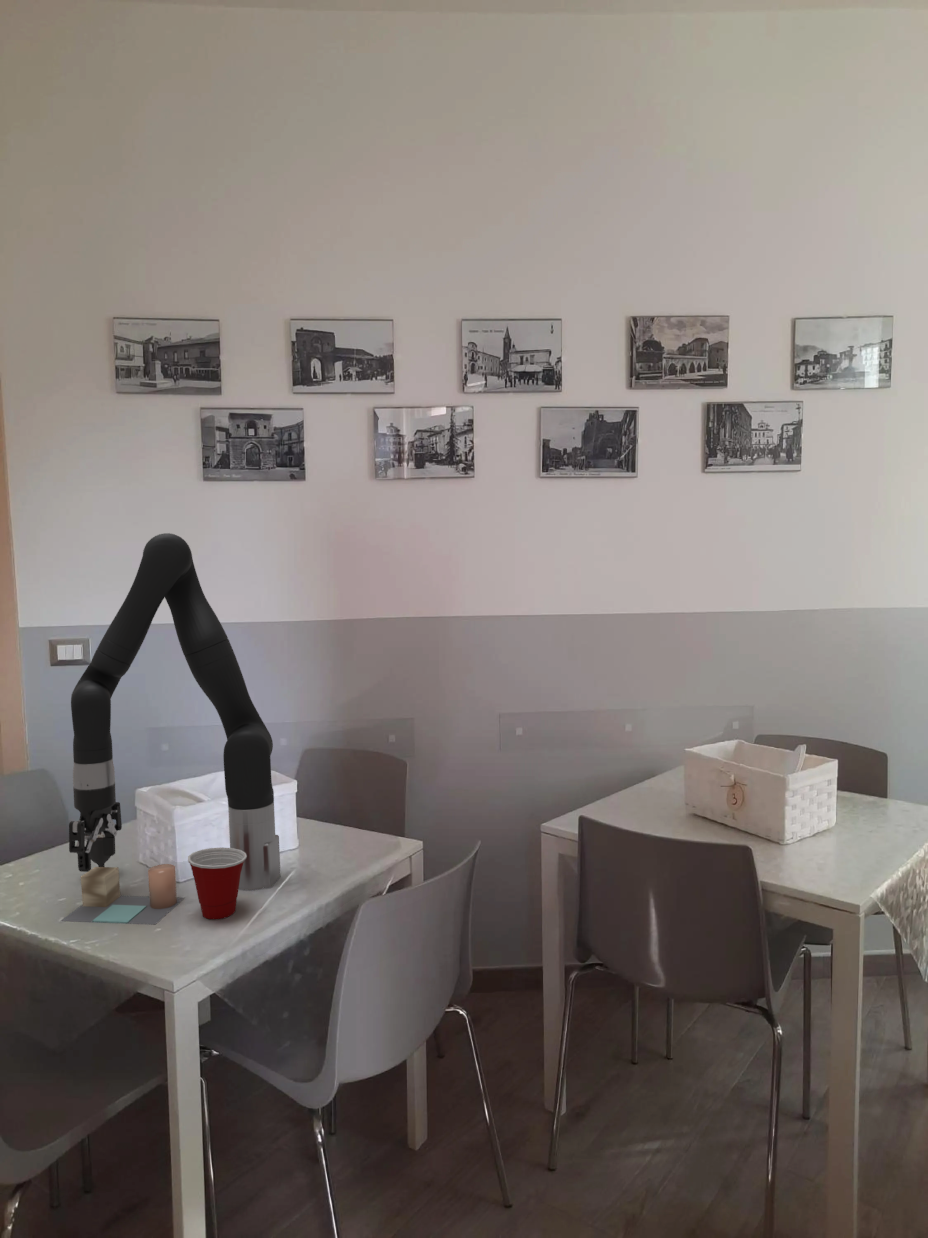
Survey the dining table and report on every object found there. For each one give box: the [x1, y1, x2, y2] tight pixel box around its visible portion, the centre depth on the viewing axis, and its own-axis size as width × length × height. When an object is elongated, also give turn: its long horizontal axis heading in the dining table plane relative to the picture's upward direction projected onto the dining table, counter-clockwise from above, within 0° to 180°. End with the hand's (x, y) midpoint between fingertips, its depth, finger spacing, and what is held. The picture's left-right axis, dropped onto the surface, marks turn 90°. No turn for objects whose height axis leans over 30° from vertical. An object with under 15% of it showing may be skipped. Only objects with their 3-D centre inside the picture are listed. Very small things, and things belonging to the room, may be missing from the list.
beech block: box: [80, 866, 121, 907], centre depth 166 cm, size 5×5×6 cm
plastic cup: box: [187, 847, 247, 920], centre depth 159 cm, size 11×11×12 cm
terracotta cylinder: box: [147, 863, 178, 909], centre depth 164 cm, size 5×5×7 cm
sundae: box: [85, 833, 112, 867], centre depth 178 cm, size 7×7×15 cm
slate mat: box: [60, 894, 185, 926], centre depth 163 cm, size 19×12×1 cm, turn 83°
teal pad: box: [91, 905, 146, 924], centre depth 160 cm, size 7×7×1 cm
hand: (97, 863), depth 166 cm, fingers open, 8 cm apart
